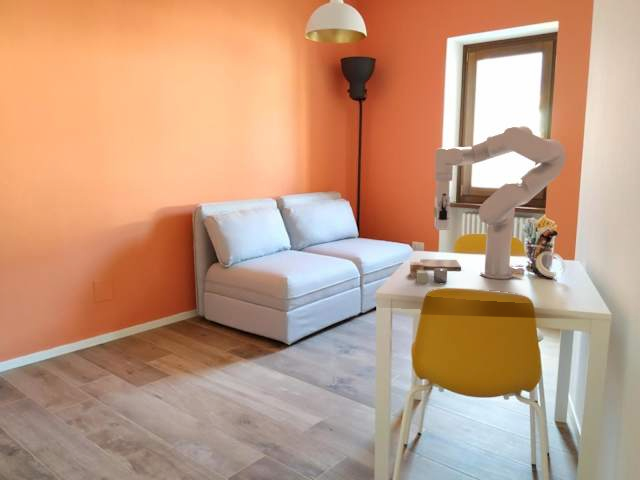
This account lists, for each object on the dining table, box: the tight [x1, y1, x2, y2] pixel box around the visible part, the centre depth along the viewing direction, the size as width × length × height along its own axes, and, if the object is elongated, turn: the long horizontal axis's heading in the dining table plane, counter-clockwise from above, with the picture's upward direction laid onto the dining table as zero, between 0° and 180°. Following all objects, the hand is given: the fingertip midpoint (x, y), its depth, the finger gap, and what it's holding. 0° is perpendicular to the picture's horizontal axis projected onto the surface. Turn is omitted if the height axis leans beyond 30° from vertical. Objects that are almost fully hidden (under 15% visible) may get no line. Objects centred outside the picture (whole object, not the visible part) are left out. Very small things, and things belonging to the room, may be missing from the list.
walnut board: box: [420, 258, 462, 271], centre depth 230 cm, size 16×14×2 cm
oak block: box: [409, 261, 424, 278], centre depth 214 cm, size 5×5×5 cm
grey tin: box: [433, 268, 448, 284], centre depth 203 cm, size 5×5×5 cm
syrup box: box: [433, 195, 451, 231], centre depth 225 cm, size 6×6×14 cm
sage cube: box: [416, 270, 429, 284], centre depth 204 cm, size 4×4×4 cm
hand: (441, 218), depth 226 cm, fingers closed on syrup box, 6 cm apart
